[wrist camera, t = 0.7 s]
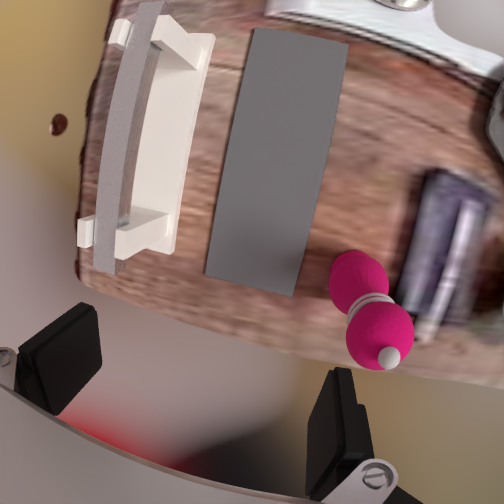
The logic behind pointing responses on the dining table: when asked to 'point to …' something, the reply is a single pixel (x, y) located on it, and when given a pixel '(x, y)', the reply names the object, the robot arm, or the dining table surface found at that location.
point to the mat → (276, 159)
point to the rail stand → (161, 139)
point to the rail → (125, 134)
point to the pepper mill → (369, 312)
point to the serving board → (496, 122)
